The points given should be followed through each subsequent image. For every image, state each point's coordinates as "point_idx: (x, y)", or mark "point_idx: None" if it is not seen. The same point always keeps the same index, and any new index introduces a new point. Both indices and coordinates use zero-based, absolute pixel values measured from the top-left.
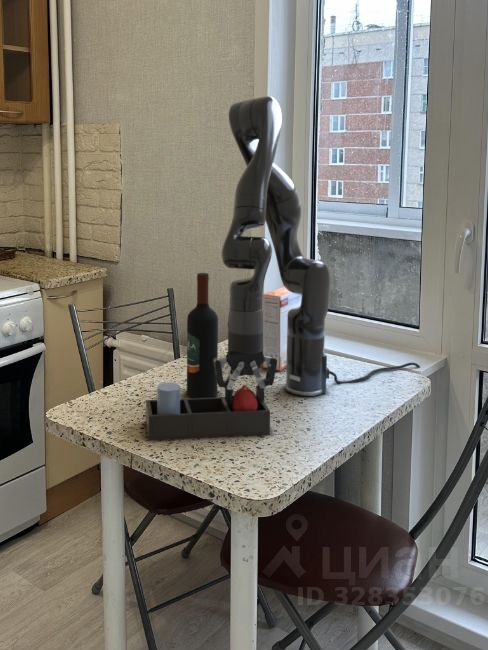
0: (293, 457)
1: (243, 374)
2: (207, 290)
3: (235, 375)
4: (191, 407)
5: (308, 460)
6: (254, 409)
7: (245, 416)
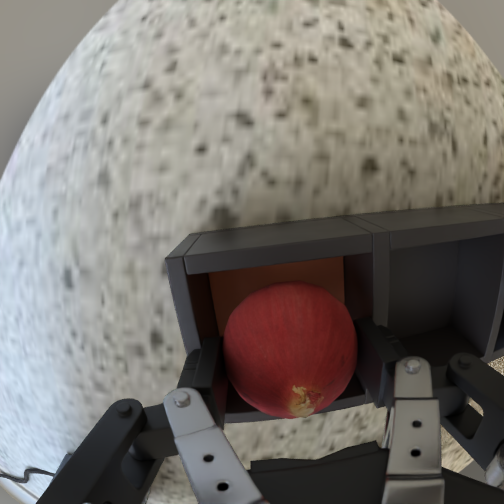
0: (135, 61)
1: (339, 458)
2: None
3: (412, 429)
4: (460, 345)
5: (98, 53)
6: (243, 301)
7: (296, 236)
